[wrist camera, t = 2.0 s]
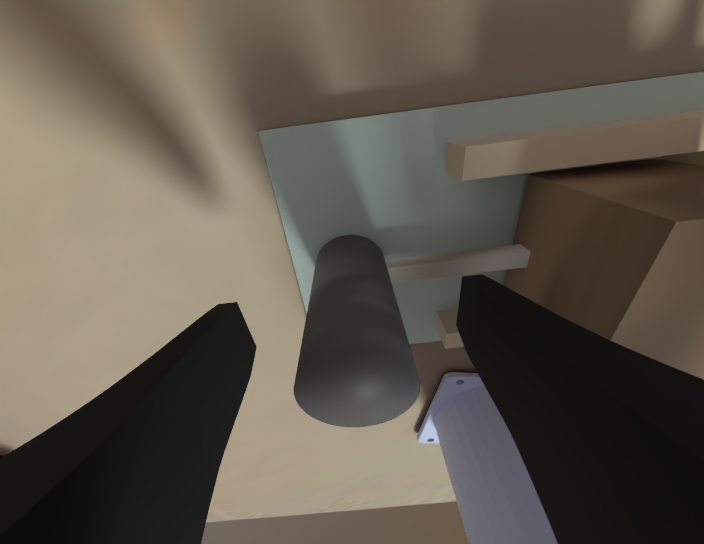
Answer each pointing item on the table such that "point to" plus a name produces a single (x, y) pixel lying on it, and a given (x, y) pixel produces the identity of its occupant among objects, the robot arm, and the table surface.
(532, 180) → the brown piece
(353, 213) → the lane board
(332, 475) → the table surface
